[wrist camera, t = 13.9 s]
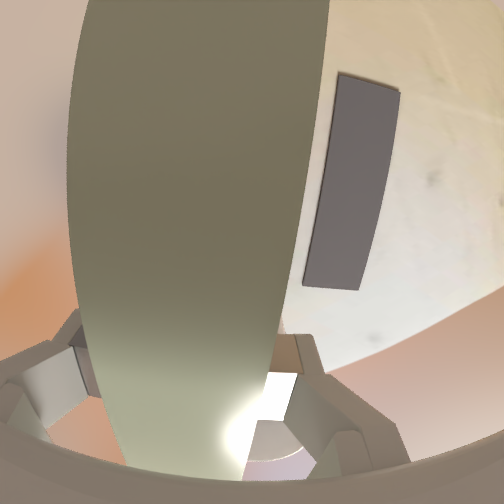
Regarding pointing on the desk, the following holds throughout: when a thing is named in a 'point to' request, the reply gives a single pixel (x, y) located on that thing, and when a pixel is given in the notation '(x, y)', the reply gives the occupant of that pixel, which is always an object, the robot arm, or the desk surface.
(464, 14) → the desk surface
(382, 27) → the desk surface
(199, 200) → the clay strip
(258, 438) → the drinking glass
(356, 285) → the pad
